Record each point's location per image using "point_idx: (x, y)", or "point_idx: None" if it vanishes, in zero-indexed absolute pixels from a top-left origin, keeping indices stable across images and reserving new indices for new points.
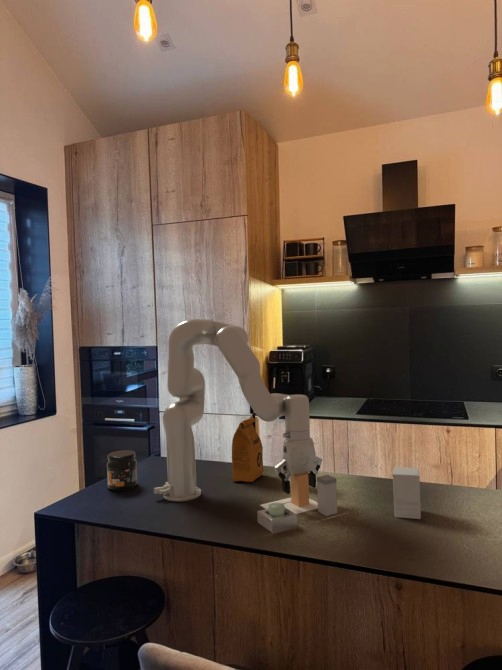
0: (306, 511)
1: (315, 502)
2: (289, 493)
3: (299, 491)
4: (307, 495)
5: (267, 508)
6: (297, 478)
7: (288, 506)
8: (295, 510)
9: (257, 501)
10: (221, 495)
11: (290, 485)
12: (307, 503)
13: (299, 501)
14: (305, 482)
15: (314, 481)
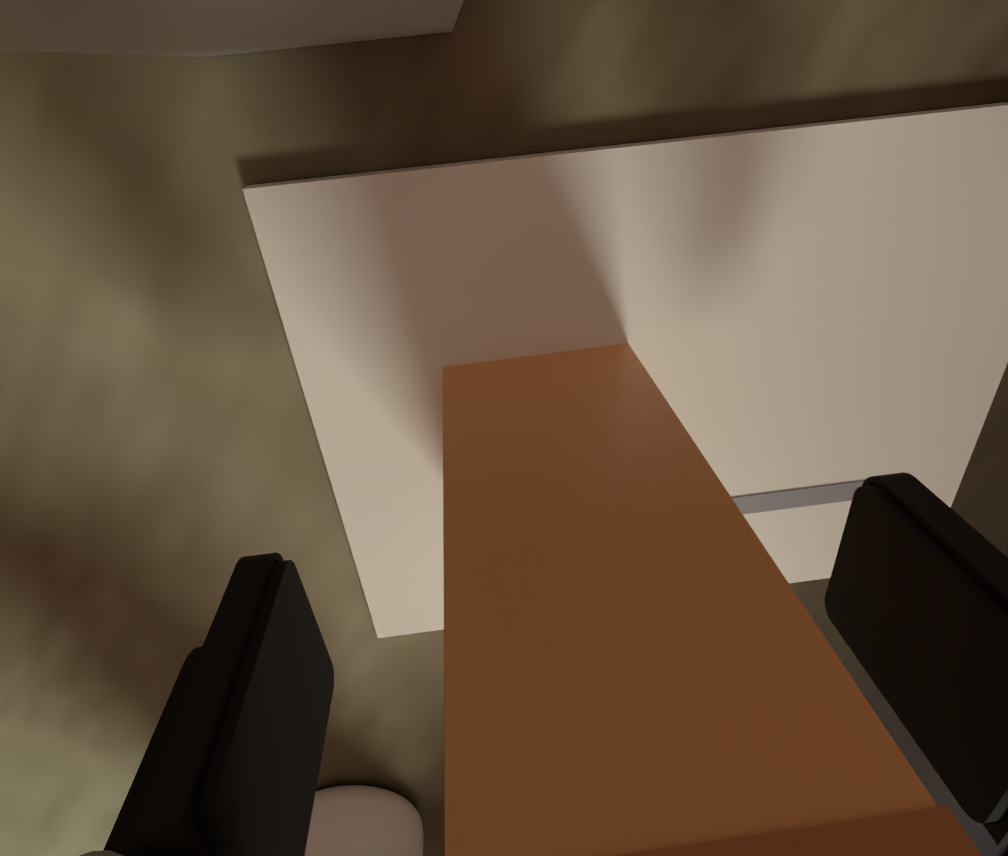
0: (619, 146)
1: (326, 388)
2: (874, 476)
3: (677, 476)
4: (475, 434)
5: (952, 458)
6: (880, 741)
7: (725, 413)
8: (746, 247)
9: (844, 648)
10: (952, 797)
11: (398, 813)
12: (474, 371)
13: (632, 378)
14: (543, 623)
15: (237, 659)
